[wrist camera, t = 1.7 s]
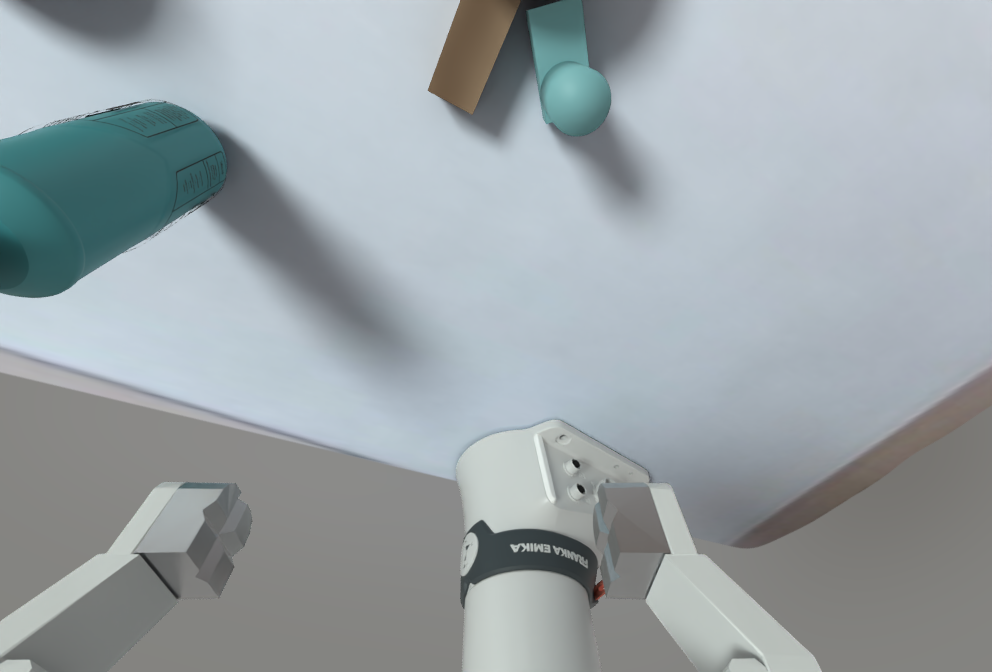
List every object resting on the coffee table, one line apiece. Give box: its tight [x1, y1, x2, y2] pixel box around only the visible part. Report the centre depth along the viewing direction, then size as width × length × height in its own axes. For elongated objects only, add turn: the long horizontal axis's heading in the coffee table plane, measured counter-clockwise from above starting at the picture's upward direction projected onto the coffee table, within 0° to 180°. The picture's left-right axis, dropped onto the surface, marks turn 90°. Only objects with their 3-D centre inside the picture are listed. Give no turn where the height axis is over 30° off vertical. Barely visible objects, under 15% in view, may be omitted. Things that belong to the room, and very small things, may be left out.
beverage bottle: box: [0, 100, 227, 298], centre depth 23 cm, size 6×7×20 cm
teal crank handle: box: [526, 0, 611, 136], centre depth 25 cm, size 6×3×7 cm, turn 13°
